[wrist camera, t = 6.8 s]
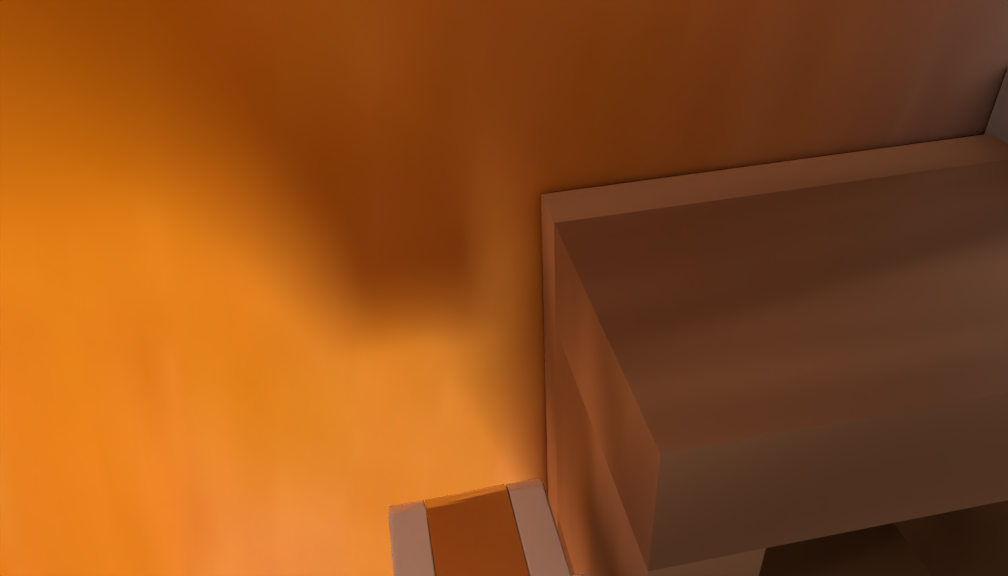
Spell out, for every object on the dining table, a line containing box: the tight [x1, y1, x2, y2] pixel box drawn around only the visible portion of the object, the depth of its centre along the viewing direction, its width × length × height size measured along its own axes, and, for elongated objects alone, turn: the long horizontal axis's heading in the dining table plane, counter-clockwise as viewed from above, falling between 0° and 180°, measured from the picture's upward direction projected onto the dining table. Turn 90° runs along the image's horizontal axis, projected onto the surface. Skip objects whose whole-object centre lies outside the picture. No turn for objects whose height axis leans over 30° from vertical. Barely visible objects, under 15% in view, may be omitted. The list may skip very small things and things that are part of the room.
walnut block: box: [541, 134, 1008, 576], centre depth 11 cm, size 8×7×5 cm
